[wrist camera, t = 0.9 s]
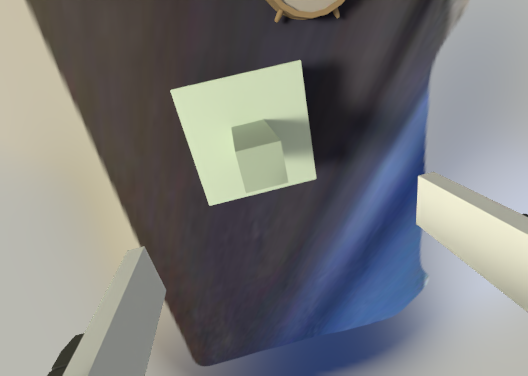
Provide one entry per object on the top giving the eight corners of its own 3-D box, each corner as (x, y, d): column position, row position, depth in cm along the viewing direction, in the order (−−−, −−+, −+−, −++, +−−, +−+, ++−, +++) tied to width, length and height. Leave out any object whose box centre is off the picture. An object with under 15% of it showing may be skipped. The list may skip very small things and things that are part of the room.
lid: (172, 89, 27) (145, 100, 17) (297, 60, 27) (336, 56, 18) (209, 201, 32) (205, 254, 23) (313, 175, 33) (349, 217, 24)
